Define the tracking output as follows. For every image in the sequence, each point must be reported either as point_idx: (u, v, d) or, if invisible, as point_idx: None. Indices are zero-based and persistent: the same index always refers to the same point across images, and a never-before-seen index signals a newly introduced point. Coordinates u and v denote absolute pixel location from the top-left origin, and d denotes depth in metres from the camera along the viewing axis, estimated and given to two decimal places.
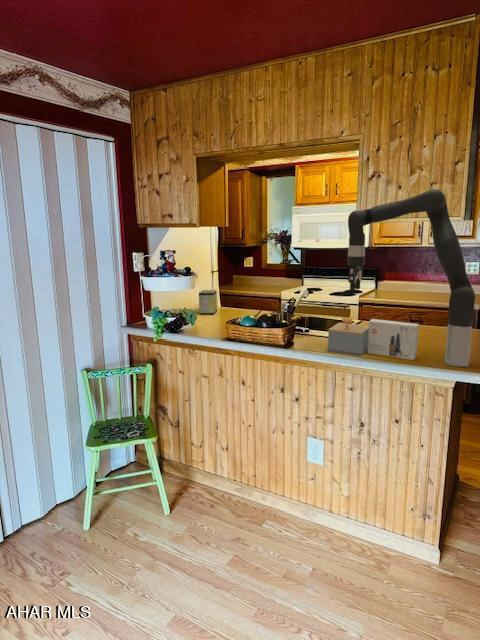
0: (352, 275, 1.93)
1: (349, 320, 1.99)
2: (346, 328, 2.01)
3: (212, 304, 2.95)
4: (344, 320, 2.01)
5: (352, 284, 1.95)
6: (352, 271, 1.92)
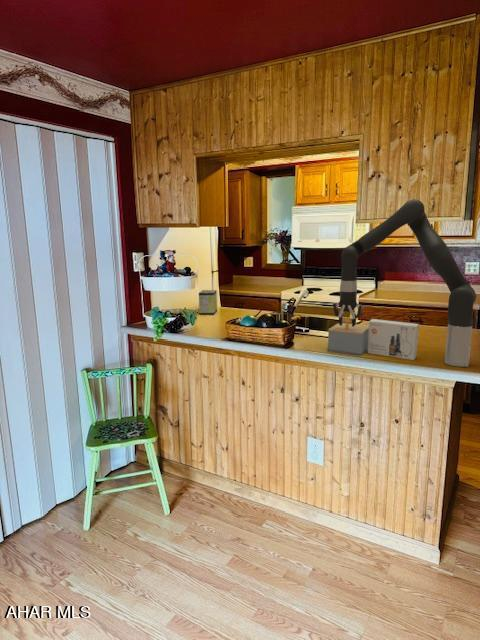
0: (361, 311, 1.97)
1: (349, 320, 1.99)
2: (346, 328, 2.01)
3: (212, 304, 2.95)
4: (344, 320, 2.01)
5: (355, 319, 1.99)
6: (362, 307, 1.97)
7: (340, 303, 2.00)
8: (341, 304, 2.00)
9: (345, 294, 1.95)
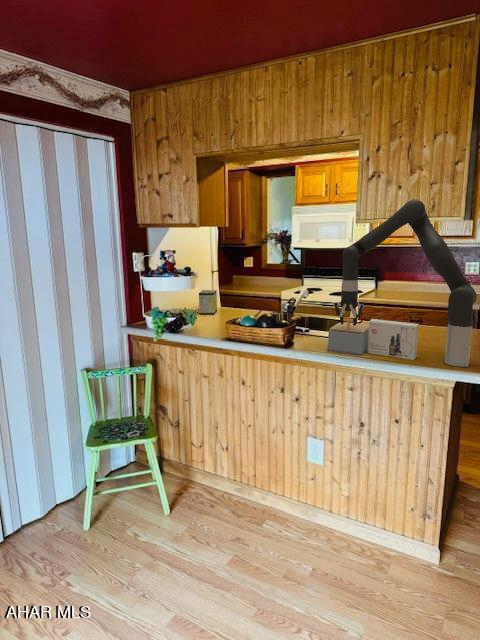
0: (362, 310, 1.99)
1: (350, 319, 2.01)
2: (347, 327, 2.03)
3: (212, 304, 2.95)
4: (345, 319, 2.02)
5: None
6: (363, 306, 1.98)
7: (341, 302, 2.02)
8: (342, 303, 2.01)
9: (346, 293, 1.97)
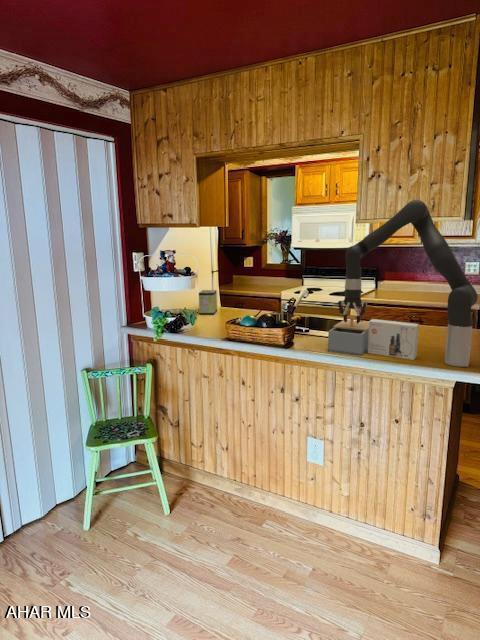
0: (365, 308, 2.04)
1: (354, 317, 2.06)
2: (351, 325, 2.08)
3: (212, 304, 2.95)
4: (349, 317, 2.07)
5: (360, 316, 2.05)
6: (366, 304, 2.03)
7: (345, 301, 2.06)
8: (346, 302, 2.06)
9: (350, 292, 2.02)
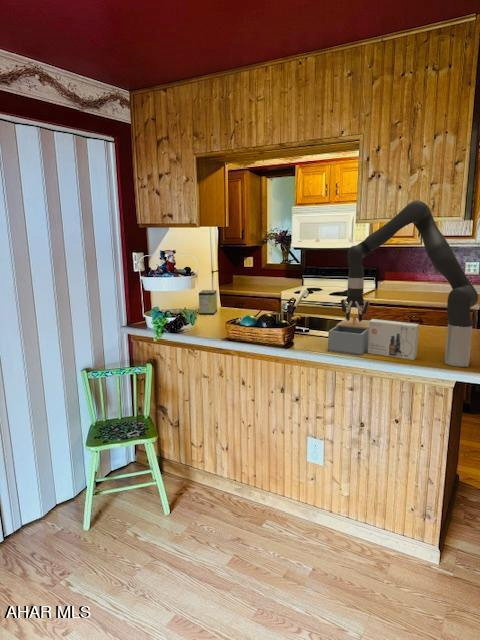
0: (367, 307, 2.07)
1: (356, 315, 2.09)
2: (353, 323, 2.11)
3: (212, 304, 2.95)
4: (351, 315, 2.10)
5: (362, 315, 2.09)
6: (368, 303, 2.06)
7: (347, 299, 2.10)
8: (348, 300, 2.10)
9: (352, 291, 2.05)
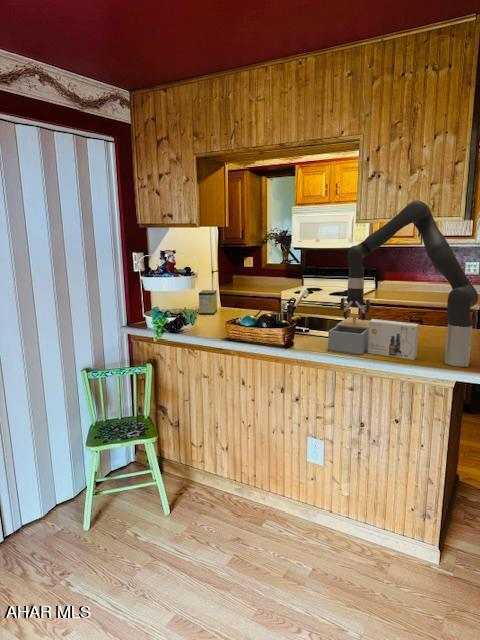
0: (369, 305, 2.07)
1: (356, 315, 2.09)
2: (353, 323, 2.11)
3: (212, 304, 2.95)
4: (351, 315, 2.11)
5: (365, 313, 2.08)
6: (369, 301, 2.06)
7: (348, 299, 2.10)
8: (349, 300, 2.10)
9: (353, 291, 2.05)
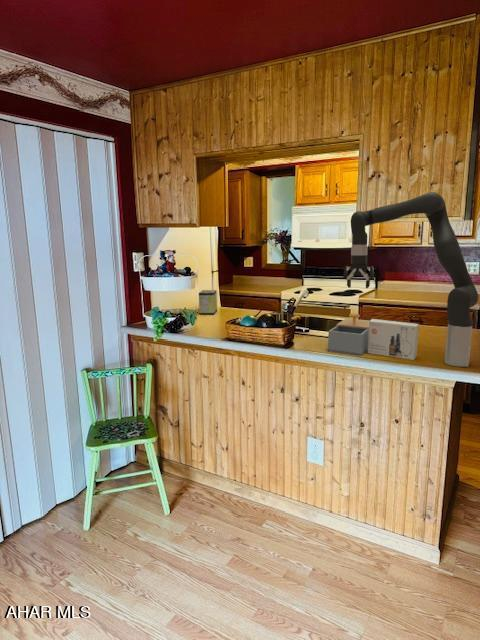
0: (373, 272, 2.04)
1: (356, 315, 2.09)
2: (353, 323, 2.11)
3: (212, 304, 2.95)
4: (351, 315, 2.11)
5: (369, 281, 2.05)
6: (373, 268, 2.03)
7: (351, 267, 2.07)
8: (352, 268, 2.07)
9: (356, 258, 2.02)
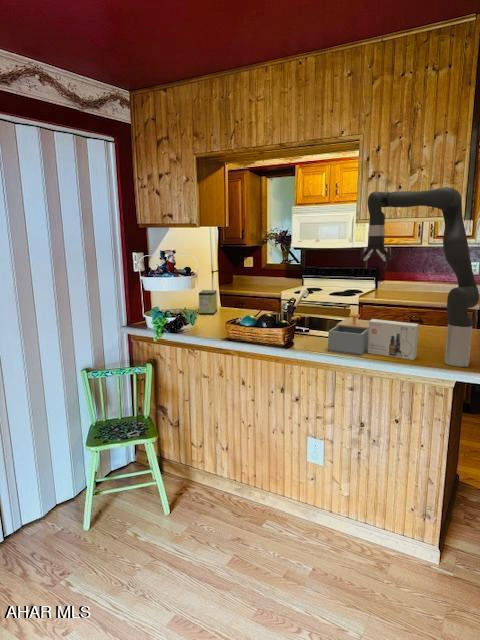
0: (390, 253, 2.04)
1: (356, 315, 2.09)
2: (353, 323, 2.11)
3: (212, 304, 2.95)
4: (351, 315, 2.11)
5: (386, 262, 2.05)
6: (390, 249, 2.03)
7: (368, 248, 2.07)
8: (369, 249, 2.07)
9: (374, 238, 2.03)
